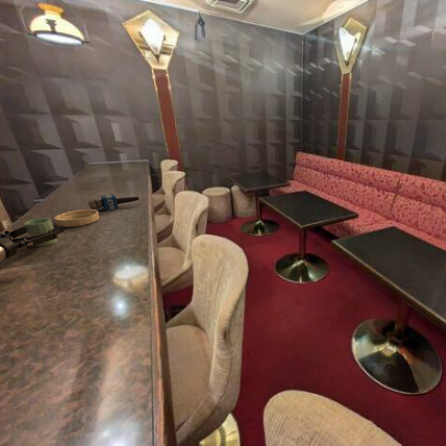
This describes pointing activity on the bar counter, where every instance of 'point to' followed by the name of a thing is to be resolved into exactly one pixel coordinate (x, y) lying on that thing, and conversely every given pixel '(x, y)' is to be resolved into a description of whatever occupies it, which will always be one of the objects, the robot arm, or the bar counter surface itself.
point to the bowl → (77, 218)
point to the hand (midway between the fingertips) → (44, 228)
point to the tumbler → (40, 229)
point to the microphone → (110, 202)
